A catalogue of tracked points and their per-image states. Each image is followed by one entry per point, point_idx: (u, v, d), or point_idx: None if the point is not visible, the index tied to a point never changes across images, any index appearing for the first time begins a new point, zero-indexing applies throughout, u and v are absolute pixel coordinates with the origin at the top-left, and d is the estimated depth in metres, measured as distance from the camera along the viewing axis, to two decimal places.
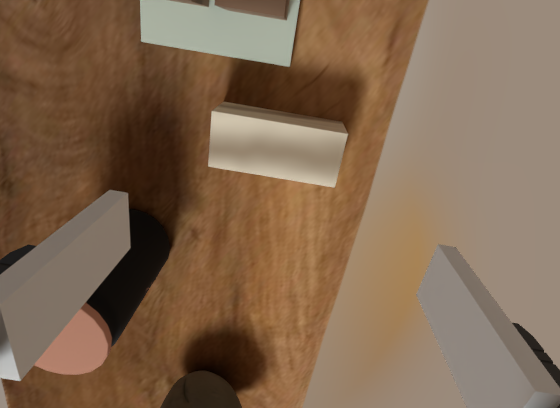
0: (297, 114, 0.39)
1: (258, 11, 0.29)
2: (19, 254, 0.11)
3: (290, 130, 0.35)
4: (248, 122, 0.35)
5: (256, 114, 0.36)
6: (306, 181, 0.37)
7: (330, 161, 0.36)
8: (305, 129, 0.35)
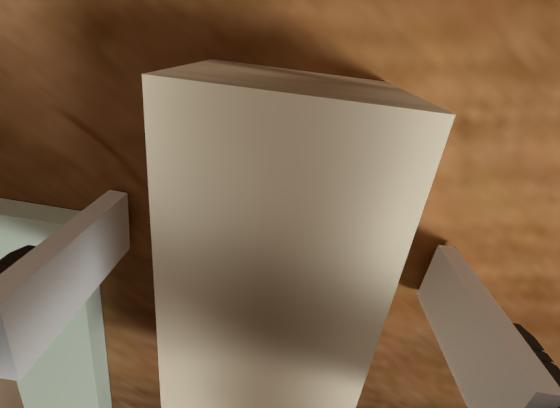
0: None
1: None
2: (18, 254, 0.11)
3: (178, 310, 0.09)
4: None
5: None
6: (401, 252, 0.08)
7: (299, 150, 0.07)
8: (164, 263, 0.08)
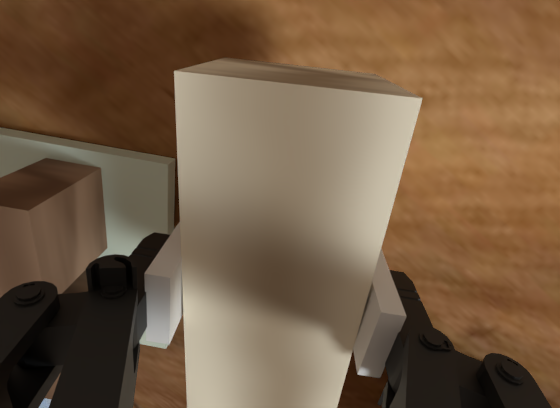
0: None
1: (34, 250, 0.17)
2: (151, 239, 0.12)
3: (201, 268, 0.11)
4: (199, 361, 0.13)
5: None
6: (384, 214, 0.10)
7: (298, 129, 0.09)
8: (189, 227, 0.10)
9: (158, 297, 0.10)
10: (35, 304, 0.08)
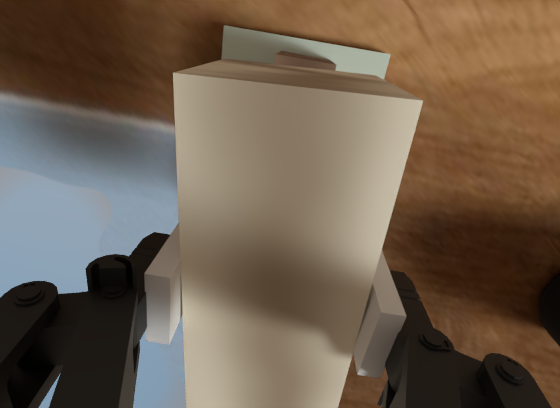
0: None
1: None
2: (151, 240, 0.12)
3: (200, 270, 0.11)
4: (198, 364, 0.13)
5: None
6: (385, 216, 0.09)
7: (299, 132, 0.09)
8: (188, 230, 0.10)
9: (157, 297, 0.10)
10: (35, 304, 0.08)
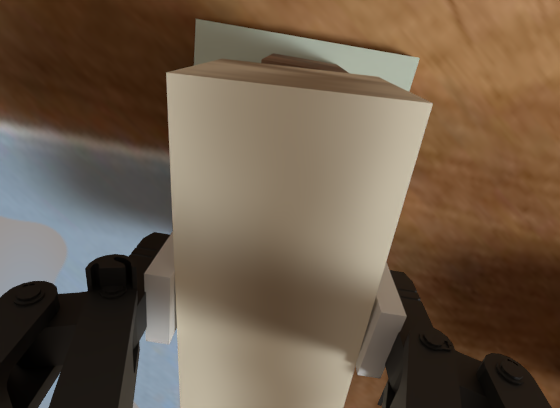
0: None
1: None
2: (151, 240, 0.12)
3: (195, 281, 0.10)
4: (194, 377, 0.12)
5: None
6: (390, 225, 0.09)
7: (300, 136, 0.08)
8: (183, 239, 0.10)
9: (157, 297, 0.10)
10: (35, 304, 0.08)
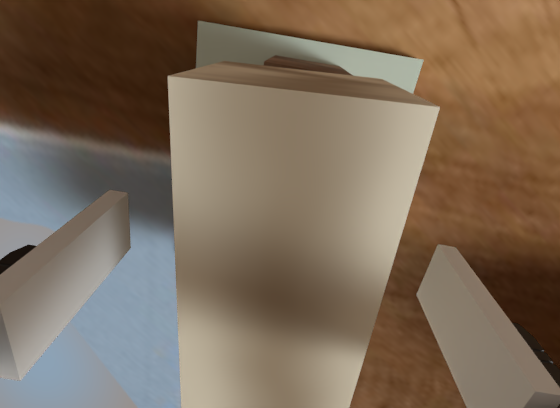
0: None
1: None
2: (19, 254, 0.11)
3: (197, 287, 0.10)
4: (195, 384, 0.12)
5: None
6: (396, 231, 0.09)
7: (304, 140, 0.08)
8: (184, 244, 0.09)
9: None
10: None
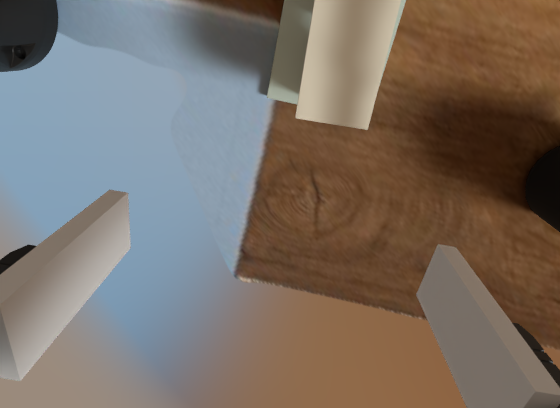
0: None
1: None
2: (19, 254, 0.11)
3: (322, 5, 0.24)
4: (310, 69, 0.26)
5: None
6: None
7: None
8: None
9: None
10: None
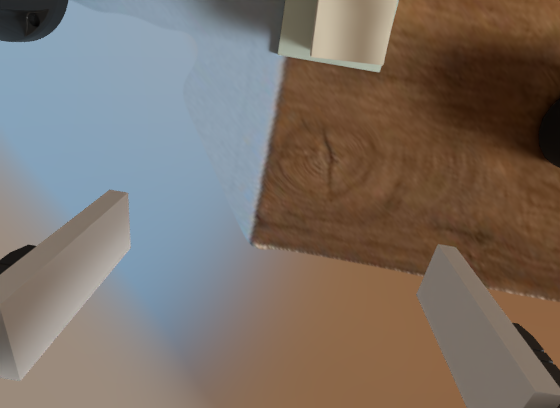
0: None
1: None
2: (19, 254, 0.11)
3: None
4: (325, 5, 0.26)
5: None
6: None
7: None
8: None
9: None
10: None
